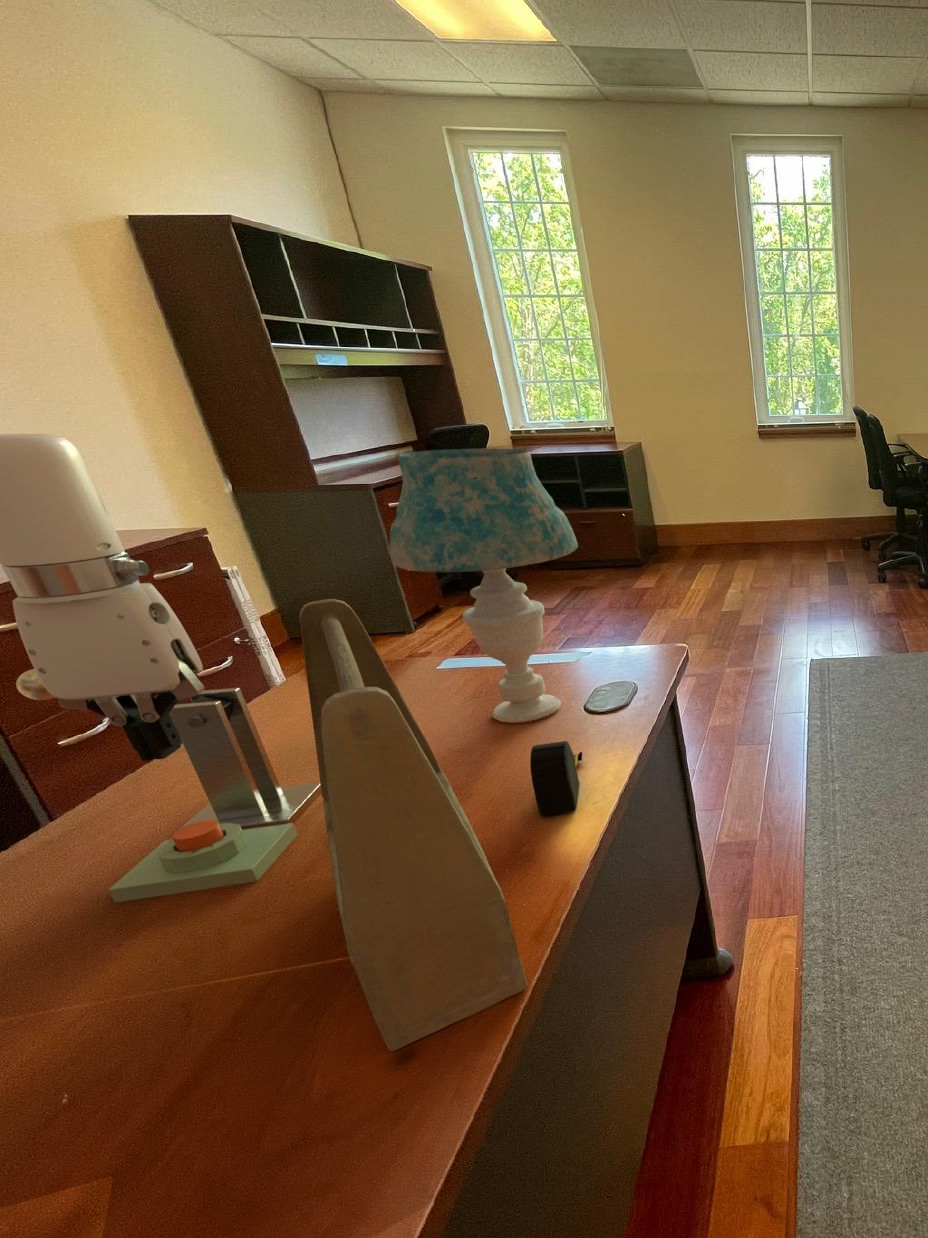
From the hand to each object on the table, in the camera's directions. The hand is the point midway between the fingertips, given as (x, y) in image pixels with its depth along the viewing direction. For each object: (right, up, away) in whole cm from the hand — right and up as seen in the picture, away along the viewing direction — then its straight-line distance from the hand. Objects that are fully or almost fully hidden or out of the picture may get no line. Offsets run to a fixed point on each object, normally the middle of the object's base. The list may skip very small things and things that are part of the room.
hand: (162, 753), depth 72 cm
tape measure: (+30, -7, +21) cm, 37 cm away
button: (0, -10, +4) cm, 11 cm away
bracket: (-5, -9, +15) cm, 18 cm away
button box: (0, -13, +6) cm, 14 cm away
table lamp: (+13, +3, +43) cm, 45 cm away
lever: (-12, +4, +7) cm, 14 cm away
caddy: (+30, -17, -3) cm, 34 cm away
